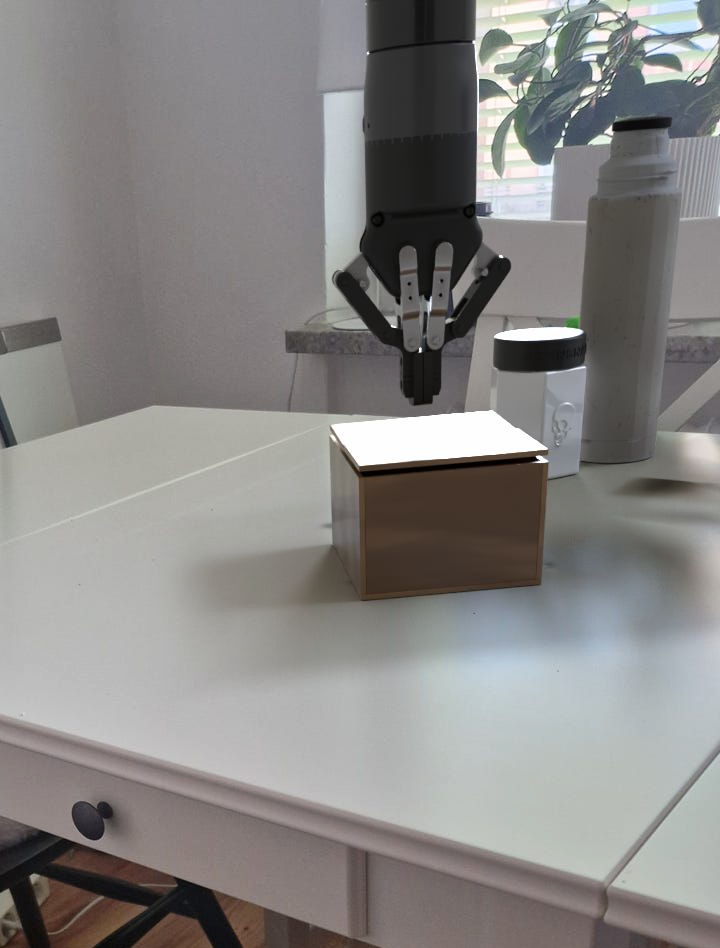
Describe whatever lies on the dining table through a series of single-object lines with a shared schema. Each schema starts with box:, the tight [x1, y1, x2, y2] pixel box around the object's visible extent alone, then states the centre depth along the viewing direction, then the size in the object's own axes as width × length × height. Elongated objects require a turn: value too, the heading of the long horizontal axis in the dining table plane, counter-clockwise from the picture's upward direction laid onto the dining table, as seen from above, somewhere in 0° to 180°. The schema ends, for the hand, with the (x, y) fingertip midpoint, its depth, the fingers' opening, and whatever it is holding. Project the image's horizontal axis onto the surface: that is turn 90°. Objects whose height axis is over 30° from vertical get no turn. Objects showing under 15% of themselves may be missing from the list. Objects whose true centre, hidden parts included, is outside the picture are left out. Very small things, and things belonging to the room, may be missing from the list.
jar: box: [489, 327, 587, 481], centre depth 107 cm, size 9×8×12 cm
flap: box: [329, 410, 515, 451], centre depth 87 cm, size 7×13×1 cm, turn 94°
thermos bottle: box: [579, 115, 683, 464], centre depth 107 cm, size 8×8×28 cm
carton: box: [328, 429, 549, 601], centre depth 86 cm, size 15×13×9 cm
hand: (420, 403), depth 87 cm, fingers closed
